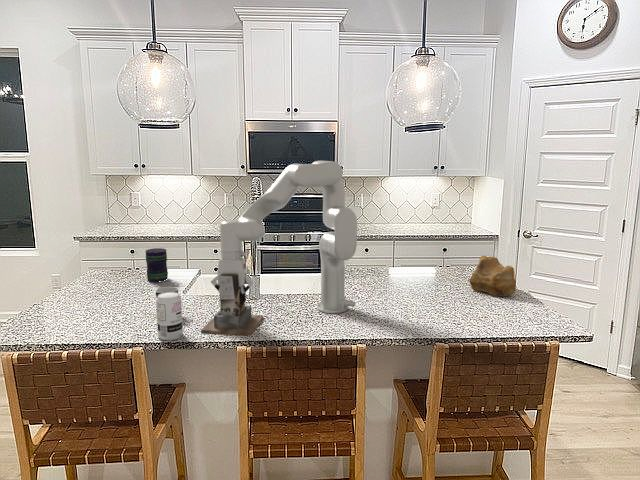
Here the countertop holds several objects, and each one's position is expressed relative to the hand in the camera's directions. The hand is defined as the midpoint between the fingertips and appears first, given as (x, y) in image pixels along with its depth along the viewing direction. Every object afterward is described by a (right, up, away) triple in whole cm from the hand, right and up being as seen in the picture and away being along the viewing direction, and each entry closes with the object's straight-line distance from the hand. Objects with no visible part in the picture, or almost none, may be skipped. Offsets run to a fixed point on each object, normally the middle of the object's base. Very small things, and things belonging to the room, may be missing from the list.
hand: (232, 302), depth 179 cm
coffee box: (0, -5, +1) cm, 5 cm away
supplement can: (-20, -11, -10) cm, 25 cm away
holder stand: (0, -9, +2) cm, 9 cm away
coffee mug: (-27, -7, +11) cm, 30 cm away
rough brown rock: (+109, -1, +46) cm, 118 cm away
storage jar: (-48, +3, +62) cm, 78 cm away
